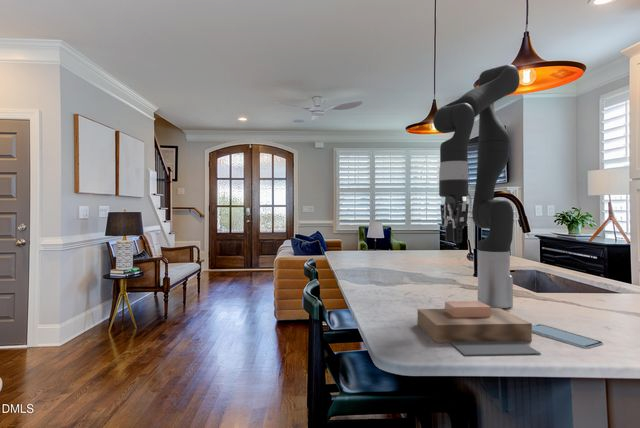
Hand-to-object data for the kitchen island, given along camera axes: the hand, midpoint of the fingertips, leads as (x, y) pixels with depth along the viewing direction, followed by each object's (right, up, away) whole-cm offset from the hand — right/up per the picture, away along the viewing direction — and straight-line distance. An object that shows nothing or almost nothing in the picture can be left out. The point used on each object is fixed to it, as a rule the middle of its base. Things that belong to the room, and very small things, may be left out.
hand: (453, 241), depth 103 cm
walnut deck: (0, -21, -10) cm, 24 cm away
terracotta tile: (0, -17, -8) cm, 19 cm away
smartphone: (+21, -22, -14) cm, 33 cm away
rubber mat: (+1, -21, -22) cm, 31 cm away
